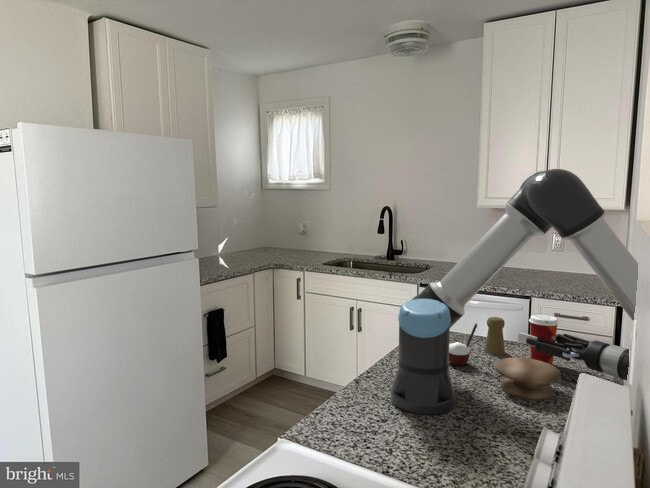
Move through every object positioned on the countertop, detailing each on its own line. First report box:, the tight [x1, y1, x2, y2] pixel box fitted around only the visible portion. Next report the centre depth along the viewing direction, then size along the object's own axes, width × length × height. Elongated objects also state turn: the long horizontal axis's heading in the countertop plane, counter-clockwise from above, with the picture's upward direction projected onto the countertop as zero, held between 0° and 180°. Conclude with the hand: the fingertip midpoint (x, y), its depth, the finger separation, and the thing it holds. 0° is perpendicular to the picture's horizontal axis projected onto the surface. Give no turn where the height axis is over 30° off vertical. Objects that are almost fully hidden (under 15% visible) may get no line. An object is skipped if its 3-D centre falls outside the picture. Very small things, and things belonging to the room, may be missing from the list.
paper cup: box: [528, 314, 560, 365], centre depth 132 cm, size 8×8×14 cm
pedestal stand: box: [494, 357, 562, 401], centre depth 116 cm, size 15×15×6 cm
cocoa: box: [449, 323, 478, 367], centre depth 133 cm, size 10×6×12 cm, turn 57°
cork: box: [484, 316, 506, 356], centre depth 142 cm, size 6×6×11 cm
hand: (527, 334), depth 136 cm, fingers closed on paper cup, 7 cm apart
